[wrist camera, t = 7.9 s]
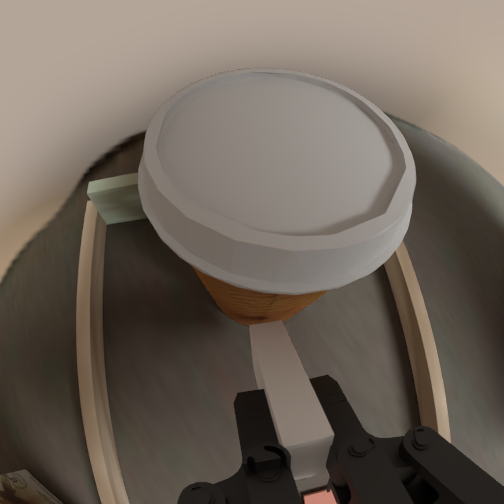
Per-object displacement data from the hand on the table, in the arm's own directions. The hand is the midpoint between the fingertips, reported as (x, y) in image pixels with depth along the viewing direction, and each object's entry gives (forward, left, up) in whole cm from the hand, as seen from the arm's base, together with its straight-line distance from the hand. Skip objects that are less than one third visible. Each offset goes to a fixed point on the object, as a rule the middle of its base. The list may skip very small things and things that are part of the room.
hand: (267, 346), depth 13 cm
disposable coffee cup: (-1, -5, -4) cm, 6 cm away
